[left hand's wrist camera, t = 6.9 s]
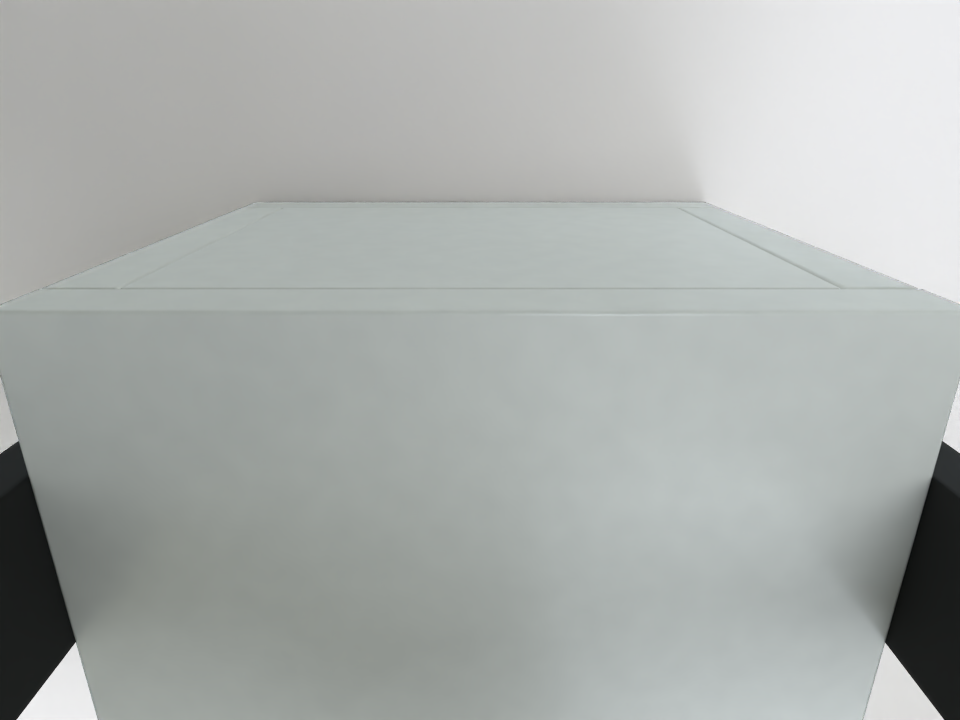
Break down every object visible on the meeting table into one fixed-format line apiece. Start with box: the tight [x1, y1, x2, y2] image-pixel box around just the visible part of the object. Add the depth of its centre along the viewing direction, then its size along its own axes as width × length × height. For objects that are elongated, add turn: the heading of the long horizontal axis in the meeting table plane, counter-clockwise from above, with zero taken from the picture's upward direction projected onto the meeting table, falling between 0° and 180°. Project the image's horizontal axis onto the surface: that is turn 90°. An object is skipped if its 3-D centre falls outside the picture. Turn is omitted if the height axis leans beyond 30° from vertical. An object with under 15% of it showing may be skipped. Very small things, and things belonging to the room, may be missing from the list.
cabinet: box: [0, 202, 960, 720], centre depth 16 cm, size 22×12×10 cm, turn 0°
